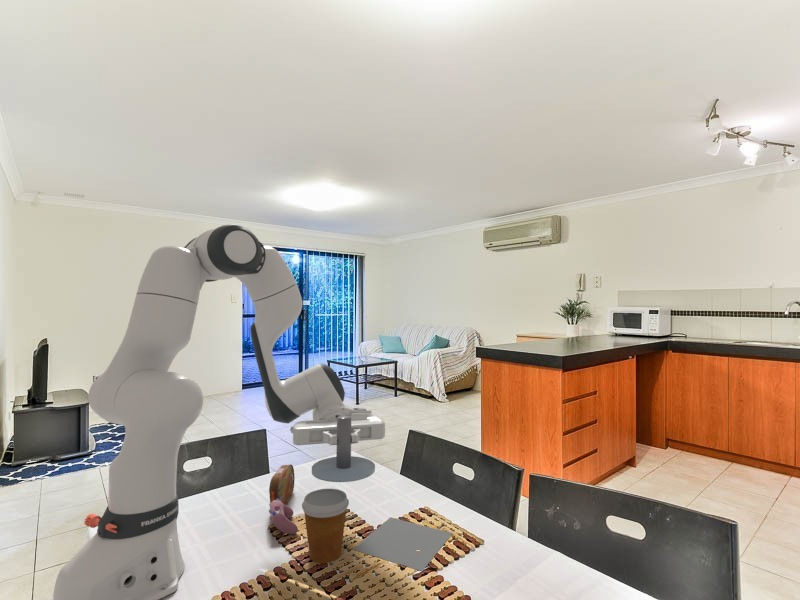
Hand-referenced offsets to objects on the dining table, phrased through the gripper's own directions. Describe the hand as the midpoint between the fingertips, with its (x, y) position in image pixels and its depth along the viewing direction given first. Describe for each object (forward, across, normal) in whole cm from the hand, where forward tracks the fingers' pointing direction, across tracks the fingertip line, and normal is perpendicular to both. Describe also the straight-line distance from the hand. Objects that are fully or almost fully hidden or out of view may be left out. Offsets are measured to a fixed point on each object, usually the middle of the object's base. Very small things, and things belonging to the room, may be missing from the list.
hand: (344, 440), depth 89 cm
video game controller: (-16, -12, +24) cm, 31 cm away
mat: (-2, +14, +23) cm, 27 cm away
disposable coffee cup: (-1, -3, +24) cm, 24 cm away
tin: (-30, -11, +24) cm, 40 cm away
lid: (-1, 0, +6) cm, 6 cm away
